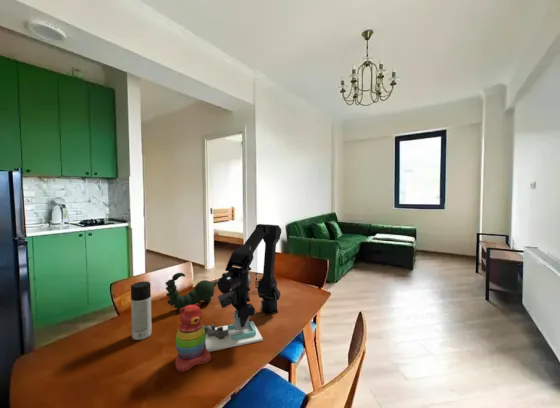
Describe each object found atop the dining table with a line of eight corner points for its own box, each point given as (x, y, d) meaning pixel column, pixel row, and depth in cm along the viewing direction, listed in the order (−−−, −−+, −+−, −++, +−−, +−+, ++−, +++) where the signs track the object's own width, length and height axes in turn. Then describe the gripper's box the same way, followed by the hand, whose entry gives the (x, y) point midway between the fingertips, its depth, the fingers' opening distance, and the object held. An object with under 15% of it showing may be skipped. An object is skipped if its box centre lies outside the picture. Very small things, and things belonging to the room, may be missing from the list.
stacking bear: (178, 374, 80) (177, 316, 79) (170, 357, 88) (169, 304, 87) (213, 360, 86) (212, 307, 85) (202, 345, 95) (201, 296, 94)
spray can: (155, 332, 103) (154, 282, 102) (141, 342, 97) (140, 288, 95) (142, 329, 105) (141, 280, 104) (127, 338, 99) (126, 285, 98)
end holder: (250, 324, 108) (250, 321, 108) (256, 335, 100) (256, 331, 100) (227, 328, 105) (227, 325, 105) (231, 340, 97) (231, 336, 97)
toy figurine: (174, 321, 116) (224, 300, 132) (169, 279, 113) (221, 263, 130) (166, 313, 122) (215, 294, 139) (161, 274, 120) (211, 259, 137)
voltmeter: (228, 292, 143) (228, 274, 143) (231, 285, 155) (231, 268, 154) (278, 292, 145) (278, 274, 144) (277, 284, 156) (277, 268, 155)
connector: (246, 323, 105) (246, 310, 105) (248, 328, 101) (248, 314, 101) (233, 325, 103) (233, 312, 103) (235, 330, 99) (235, 317, 99)
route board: (252, 322, 111) (252, 315, 111) (262, 340, 98) (262, 332, 98) (203, 331, 104) (203, 323, 104) (206, 352, 91) (206, 343, 91)
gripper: (216, 279, 107) (216, 316, 108) (223, 296, 90) (223, 341, 91) (243, 275, 111) (243, 312, 112) (255, 292, 94) (255, 335, 94)
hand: (241, 324), depth 102 cm, fingers closed on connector, 4 cm apart
